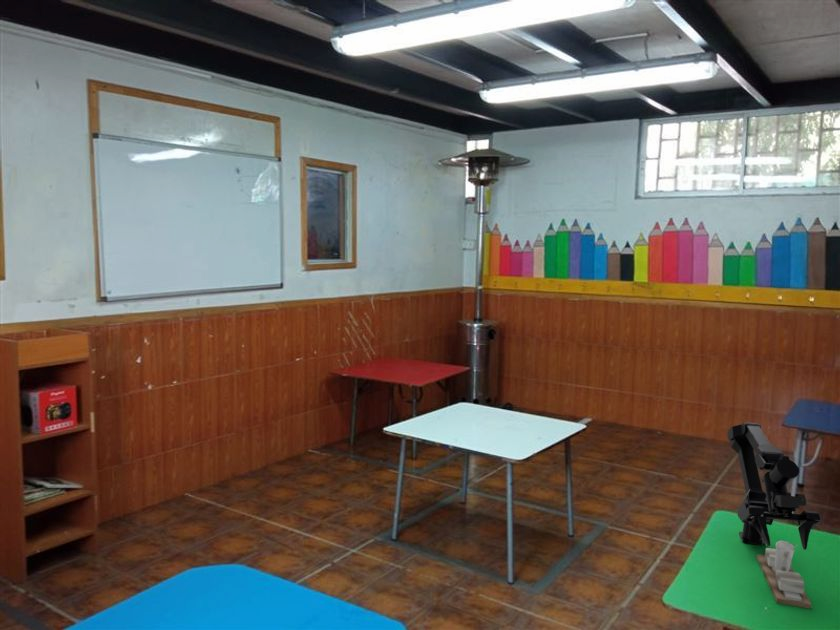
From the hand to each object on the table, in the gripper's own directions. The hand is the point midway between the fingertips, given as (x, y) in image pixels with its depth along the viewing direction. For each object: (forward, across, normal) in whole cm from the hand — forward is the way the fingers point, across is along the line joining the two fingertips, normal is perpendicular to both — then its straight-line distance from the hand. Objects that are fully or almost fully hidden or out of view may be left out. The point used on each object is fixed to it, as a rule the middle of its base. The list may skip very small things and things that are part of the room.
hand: (787, 547), depth 183 cm
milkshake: (+6, 0, +6) cm, 8 cm away
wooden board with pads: (+7, 0, +7) cm, 10 cm away
